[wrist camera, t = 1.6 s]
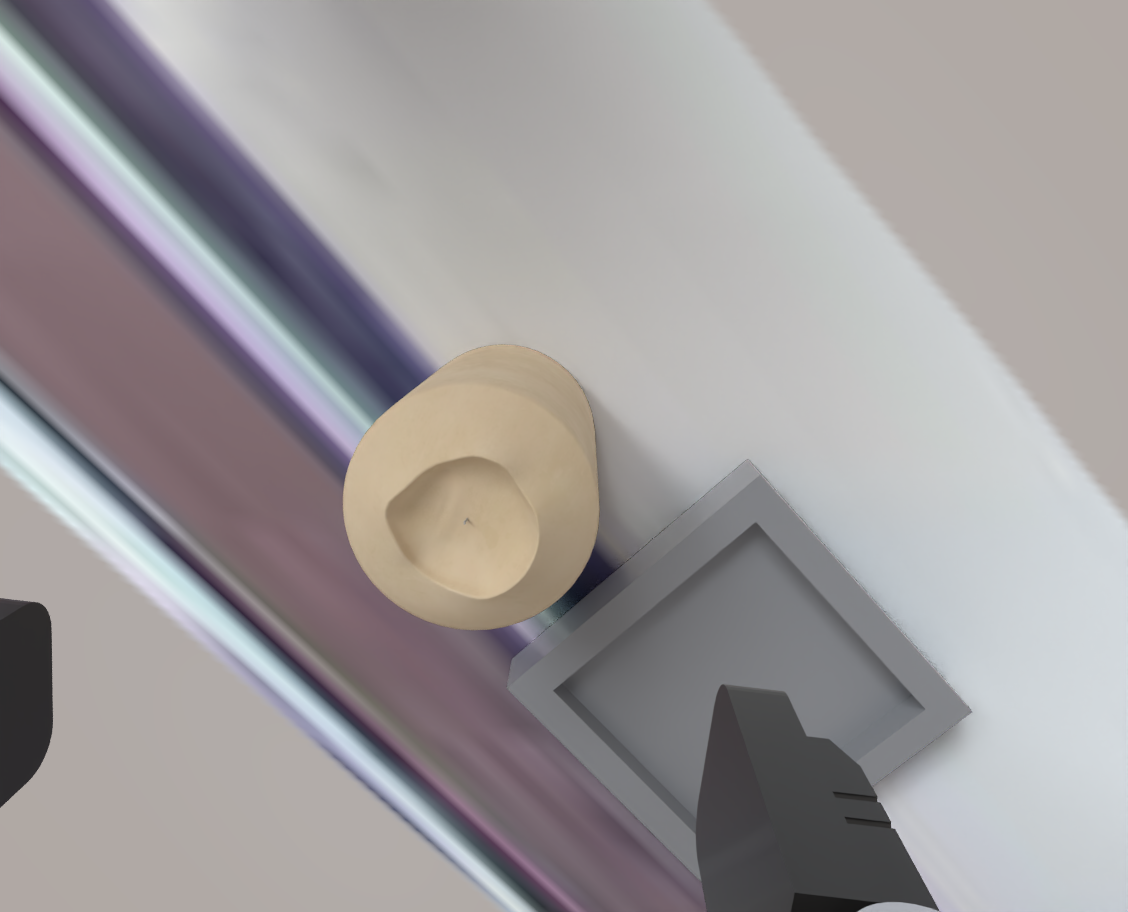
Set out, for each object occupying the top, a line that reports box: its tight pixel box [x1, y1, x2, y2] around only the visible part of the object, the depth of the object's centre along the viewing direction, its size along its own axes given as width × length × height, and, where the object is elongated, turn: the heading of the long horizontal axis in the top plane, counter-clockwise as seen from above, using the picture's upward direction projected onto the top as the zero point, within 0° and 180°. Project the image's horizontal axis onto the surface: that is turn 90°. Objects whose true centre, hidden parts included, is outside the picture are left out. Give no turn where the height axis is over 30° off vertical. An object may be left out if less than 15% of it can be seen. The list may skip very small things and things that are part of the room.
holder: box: [507, 459, 972, 882], centre depth 28 cm, size 10×10×2 cm
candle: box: [343, 345, 600, 630], centre depth 22 cm, size 6×6×10 cm
